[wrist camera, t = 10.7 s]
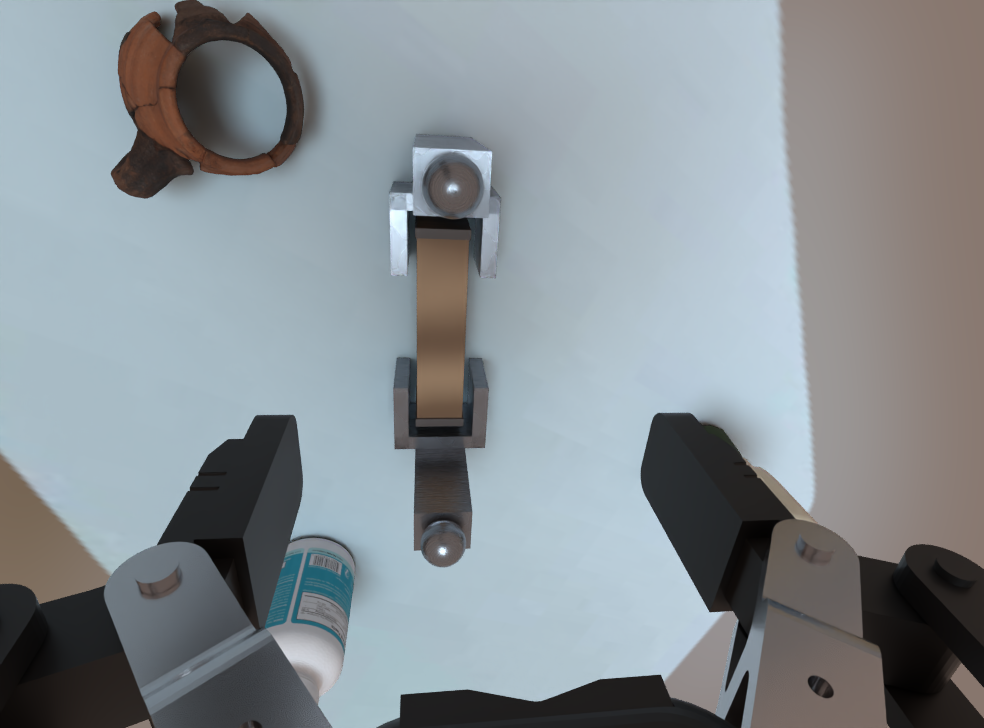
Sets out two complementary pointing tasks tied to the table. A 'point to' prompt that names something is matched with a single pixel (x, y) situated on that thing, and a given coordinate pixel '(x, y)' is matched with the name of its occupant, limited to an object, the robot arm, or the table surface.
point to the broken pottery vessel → (153, 100)
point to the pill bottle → (313, 610)
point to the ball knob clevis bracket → (441, 449)
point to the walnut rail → (441, 318)
